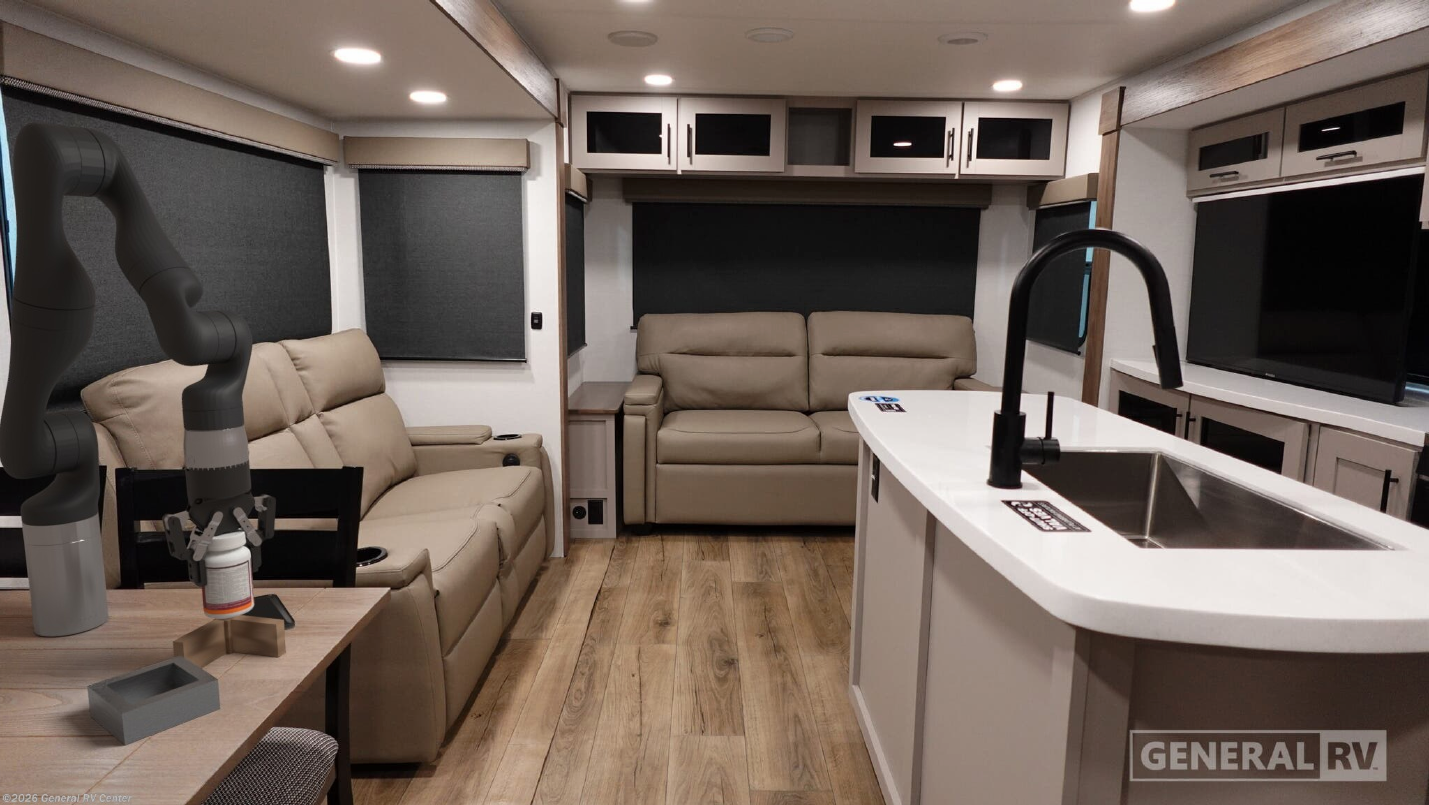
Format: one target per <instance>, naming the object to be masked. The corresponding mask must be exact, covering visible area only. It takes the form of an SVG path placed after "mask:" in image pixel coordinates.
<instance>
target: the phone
mask: <svg viewBox="0 0 1429 805" xmlns="http://www.w3.org/2000/svg"><path fill="white" fill-rule="evenodd" d="M242 615H244V616H253V617H262V618H271V619H280V620H284V630H285V631H288V630H291V629H294V628H295V627H296V622H295V621H296V620H295V619H294V618H293V616H292V615H291V613H290V611H288V609H287V608H286V606H285V604H284V603H283V602H282V600H281V599H280V597H279V596H278V595H277V594H276V593H268V594H262V595H258V596H254V606H253V608H252V609H251V610H250V611H248V612H247V613H244V614H242Z"/></svg>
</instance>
